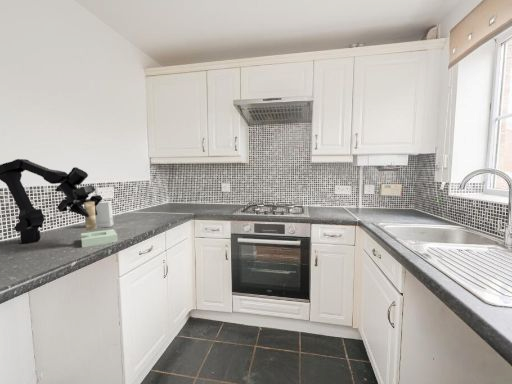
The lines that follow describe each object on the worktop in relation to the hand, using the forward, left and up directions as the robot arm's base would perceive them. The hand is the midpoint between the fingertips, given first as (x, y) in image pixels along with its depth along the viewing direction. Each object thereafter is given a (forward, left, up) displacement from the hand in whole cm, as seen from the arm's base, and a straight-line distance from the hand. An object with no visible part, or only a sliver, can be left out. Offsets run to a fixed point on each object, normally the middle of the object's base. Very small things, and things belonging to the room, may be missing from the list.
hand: (92, 215), depth 110 cm
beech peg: (-1, +1, -7) cm, 7 cm away
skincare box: (+7, +39, -14) cm, 42 cm away
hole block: (+2, +4, -14) cm, 14 cm away
